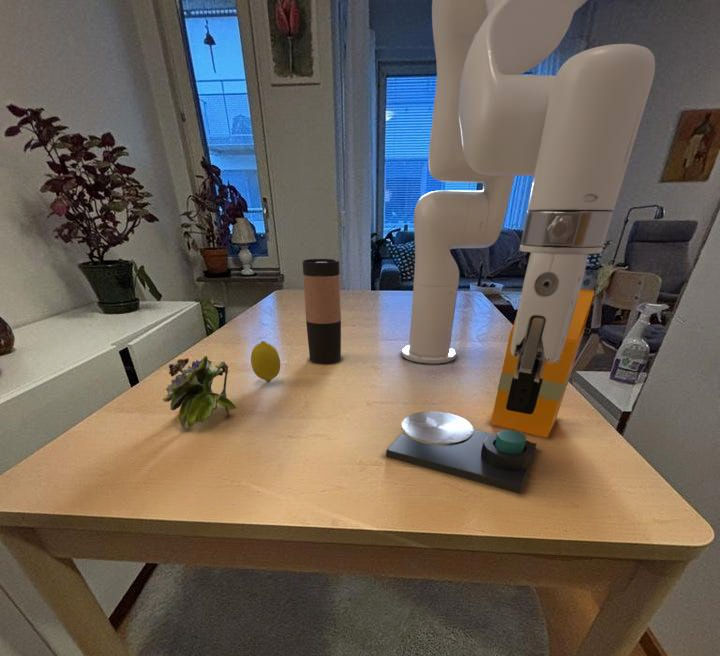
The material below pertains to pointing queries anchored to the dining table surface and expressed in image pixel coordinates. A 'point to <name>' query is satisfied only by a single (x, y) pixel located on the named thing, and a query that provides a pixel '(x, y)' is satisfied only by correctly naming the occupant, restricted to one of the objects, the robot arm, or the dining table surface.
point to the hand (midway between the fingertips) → (520, 409)
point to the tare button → (510, 441)
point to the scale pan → (437, 428)
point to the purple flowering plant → (196, 390)
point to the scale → (469, 459)
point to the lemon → (265, 361)
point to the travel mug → (323, 309)
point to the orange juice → (552, 378)
